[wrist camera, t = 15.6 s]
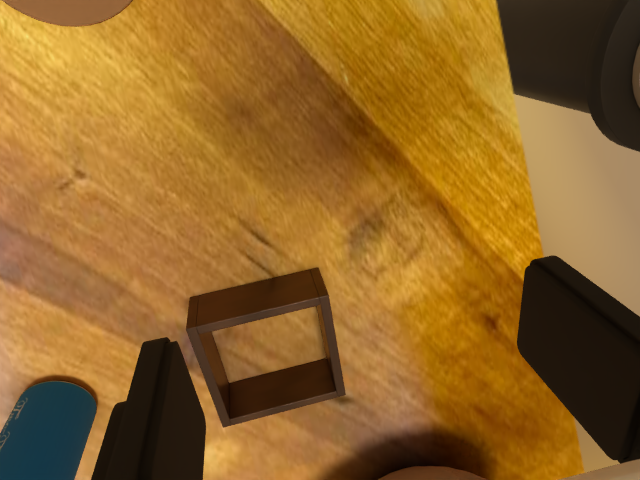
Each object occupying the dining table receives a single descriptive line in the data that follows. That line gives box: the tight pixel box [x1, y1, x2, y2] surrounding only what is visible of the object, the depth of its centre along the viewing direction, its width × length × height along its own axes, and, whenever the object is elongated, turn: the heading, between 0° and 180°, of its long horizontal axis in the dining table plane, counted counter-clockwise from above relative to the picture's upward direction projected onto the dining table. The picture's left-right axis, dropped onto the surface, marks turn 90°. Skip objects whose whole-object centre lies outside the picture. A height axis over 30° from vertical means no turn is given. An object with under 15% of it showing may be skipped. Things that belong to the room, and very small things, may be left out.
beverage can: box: [0, 381, 97, 480], centre depth 35 cm, size 6×6×12 cm
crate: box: [186, 268, 346, 427], centre depth 40 cm, size 12×12×4 cm
